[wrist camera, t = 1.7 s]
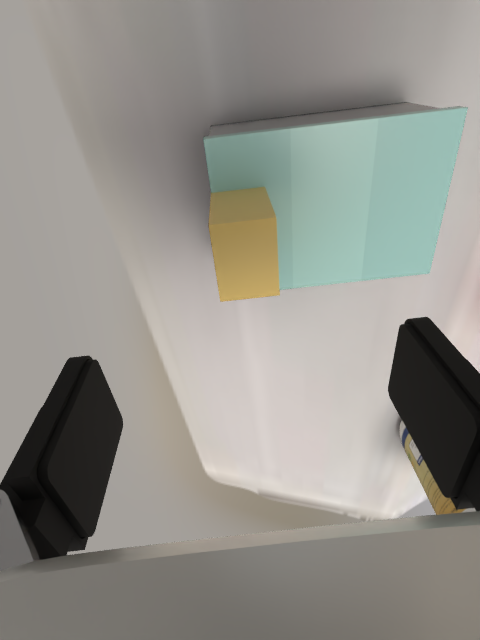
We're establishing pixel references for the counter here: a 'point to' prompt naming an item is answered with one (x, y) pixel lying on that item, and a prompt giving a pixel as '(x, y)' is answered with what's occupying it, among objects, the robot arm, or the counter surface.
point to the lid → (329, 200)
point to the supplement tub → (427, 477)
